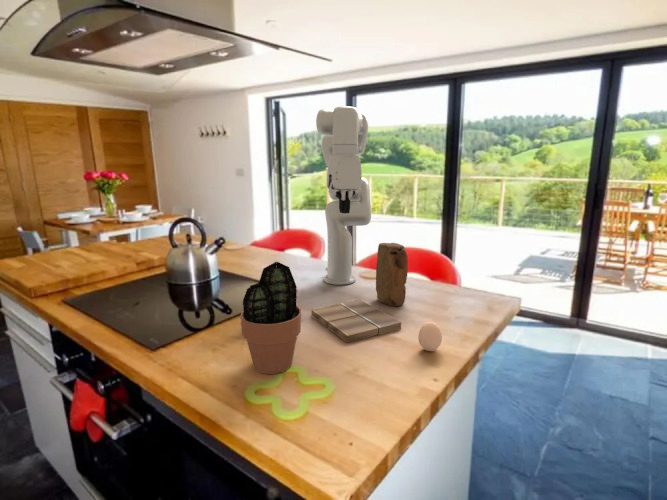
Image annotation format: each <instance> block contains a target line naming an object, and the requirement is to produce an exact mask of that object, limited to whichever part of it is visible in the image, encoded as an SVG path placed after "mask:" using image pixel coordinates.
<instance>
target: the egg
mask: <svg viewBox="0 0 667 500" xmlns="http://www.w3.org/2000/svg"><path fill="white" fill-rule="evenodd" d="M441 331H442V330H441V328H440V327H439V325H438V324H437V323H436V322H434V321H426V322H424V323H423V324H422V325H421V327H420V329H419V331H418V343H419V345H420V347H422V349H423V350H425V351H427V352H433V351H436V350H437V349H439V347H440V346H441V344H442V339H443V333H442V332H441Z"/></svg>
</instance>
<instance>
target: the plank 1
mask: <svg viewBox="0 0 667 500" xmlns="http://www.w3.org/2000/svg"><path fill="white" fill-rule="evenodd" d="M310 313H311V316H312V317H313V318H314V319H315V320H317V321H318V322H319V323H320V324H322V325H324V327H326V328H327V329H329V328H328V322H331V321H335V320H340V319H344V318H348V317H352V316H357V315H356V314H355V313H353V312H352V311H350V310H348V309H347V308H345V307H343V306H342V305H340V303H338V304H332V305H329V306H323V307H318V308H314V309H311V312H310Z"/></svg>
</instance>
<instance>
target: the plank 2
mask: <svg viewBox="0 0 667 500" xmlns="http://www.w3.org/2000/svg"><path fill="white" fill-rule="evenodd" d="M327 329H328V330H330V331H332V333H334V335H335V334H336V335H337V336H338V338H340V339H342V340H343V341H345V342H346V343H351V342H355V341H359V340H362V339H365V338H366V339H367V338H369V337H373V336H376V335H379V334H378V327H376V326H374V325H373V324H371V323H369V322H368V321H366V320H365V319H363V318H361V317H360V316H358V315H357V316H352V317H348V318H344V319H340V320H335V321H331V322H328V328H327Z"/></svg>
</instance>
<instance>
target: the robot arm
mask: <svg viewBox="0 0 667 500" xmlns="http://www.w3.org/2000/svg"><path fill="white" fill-rule="evenodd" d="M315 126H316V130H317V133H318V134H319V135H321V136H322V135H323V137H322V140H321V152H322V156H323V160H324V162H325V165H326V167H327V171H326V172H327V174H326V188H327V189H328V195H329V197H330V199H331V200H333V201H330V202H329V203H327V204H326V206H325V210H324V213H325V221H326V229H327V232H326V233H327V266H326V267H325V271H326V272H327V274H326V275H324V277H323V281H324V282H325V283H327V284H329V285H335V286H337V285H338V286H345V285H351V284H353V283H355V282H356V277H355V275H352V260H353V258H352V257H353V255H352V254H353V251H352V250H353V238H352V235H351V232H350V231H349V229H347V228H346V227H349V226H352V227H353V226H354V227H356V226H359V227H360V226H363V227H364V226H367V225H369V224H370V222H371V219H372V208H371V207H372V206H371V205H372V204H371V193H370V183H369V181H368V179H367V178H366V177H363V176H362V175H363V173H362V165H361V155H363V154H364V153H365V151H366V148H367V147H366V146H367V140H368V131H369V120H368V116H367V114H366V113H365V112H363V111H359V110H358V108H357V107H354V106H349V105H348V106H347V105H345V106H336V107H335V108H334V109H332V108H329V109H327V108H326V109H320V110H319V111H318V112H317V115H316V118H315Z"/></svg>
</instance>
